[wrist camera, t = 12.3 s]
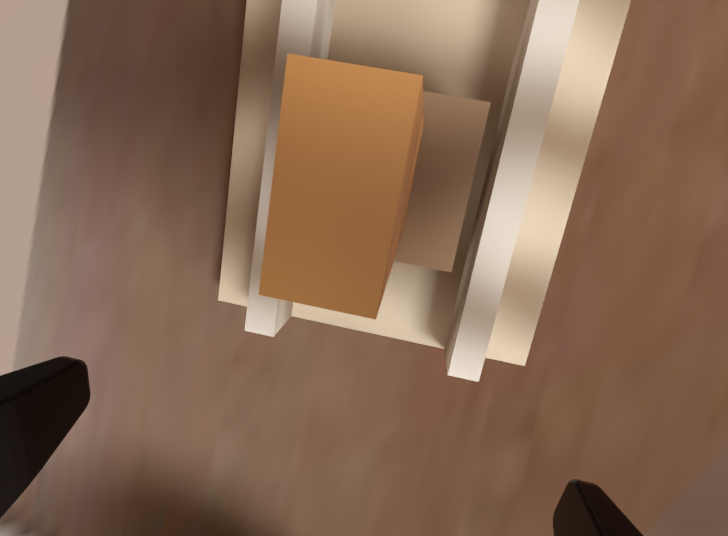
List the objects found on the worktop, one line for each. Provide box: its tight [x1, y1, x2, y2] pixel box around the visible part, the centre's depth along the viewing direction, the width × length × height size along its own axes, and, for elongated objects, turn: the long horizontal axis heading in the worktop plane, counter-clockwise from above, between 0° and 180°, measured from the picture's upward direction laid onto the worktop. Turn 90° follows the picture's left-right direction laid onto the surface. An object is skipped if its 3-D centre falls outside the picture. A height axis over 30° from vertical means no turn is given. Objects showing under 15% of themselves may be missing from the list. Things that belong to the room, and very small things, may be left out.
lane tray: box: [218, 0, 631, 382], centre depth 17 cm, size 20×14×4 cm
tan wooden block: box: [259, 53, 491, 320], centre depth 12 cm, size 5×5×13 cm
